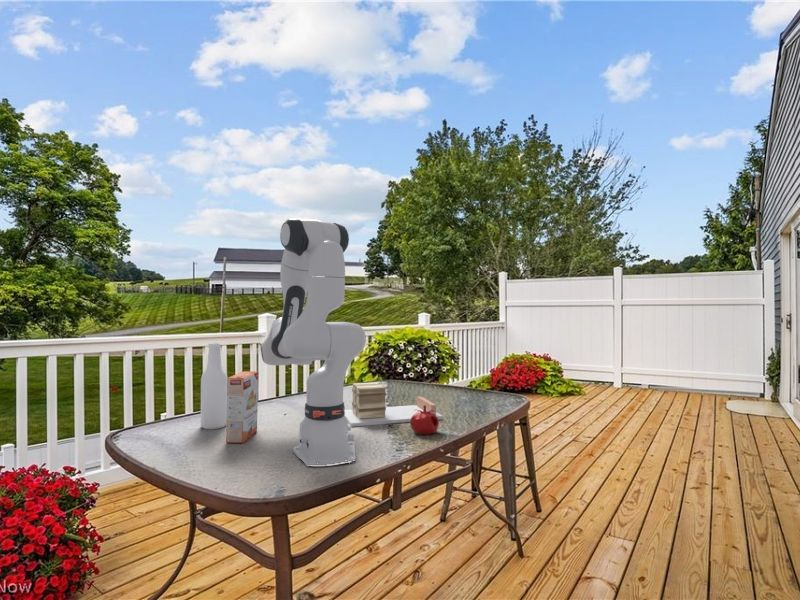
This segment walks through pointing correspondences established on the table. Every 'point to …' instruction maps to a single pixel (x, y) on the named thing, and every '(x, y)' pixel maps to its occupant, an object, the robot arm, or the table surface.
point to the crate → (368, 400)
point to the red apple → (424, 422)
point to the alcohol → (214, 391)
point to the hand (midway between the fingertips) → (343, 351)
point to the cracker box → (241, 406)
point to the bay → (393, 414)
